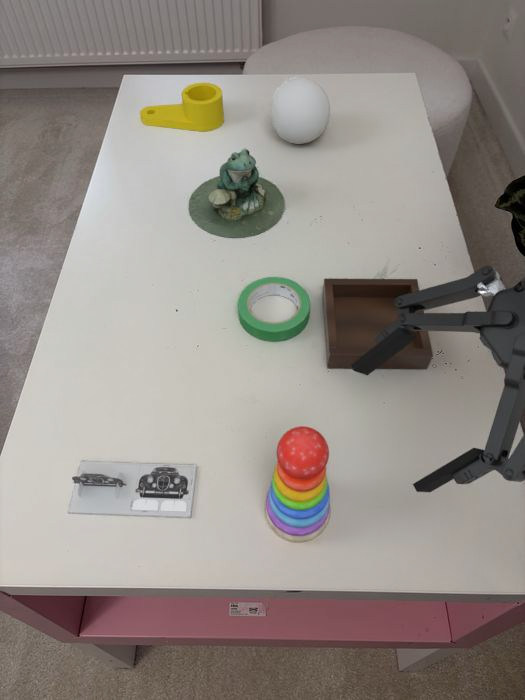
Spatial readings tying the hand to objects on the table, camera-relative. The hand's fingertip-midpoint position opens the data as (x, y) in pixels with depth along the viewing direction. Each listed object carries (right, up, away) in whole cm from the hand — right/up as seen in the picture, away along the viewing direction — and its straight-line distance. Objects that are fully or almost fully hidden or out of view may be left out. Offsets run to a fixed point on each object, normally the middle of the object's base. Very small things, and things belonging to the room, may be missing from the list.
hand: (387, 425), depth 51 cm
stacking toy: (-8, -12, +12) cm, 19 cm away
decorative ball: (-5, +51, +57) cm, 77 cm away
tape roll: (-11, +13, +30) cm, 34 cm away
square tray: (+4, +11, +28) cm, 30 cm away
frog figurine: (-17, +34, +45) cm, 59 cm away
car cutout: (-29, -10, +14) cm, 33 cm away
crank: (-30, +57, +61) cm, 89 cm away
